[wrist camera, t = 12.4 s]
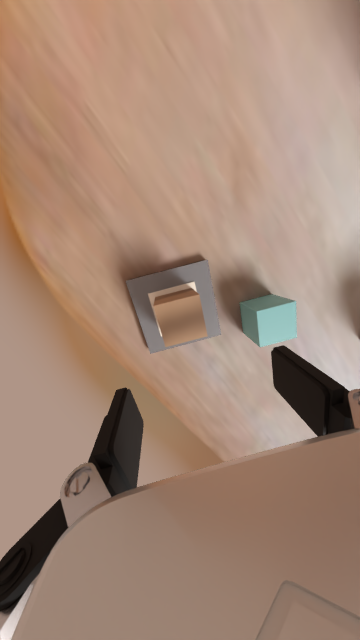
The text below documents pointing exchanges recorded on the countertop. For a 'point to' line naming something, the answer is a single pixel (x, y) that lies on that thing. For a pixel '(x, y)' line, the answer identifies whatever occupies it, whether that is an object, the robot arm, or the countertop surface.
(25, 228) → the countertop surface
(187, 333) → the walnut block
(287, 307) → the teal block
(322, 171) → the countertop surface
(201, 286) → the grey square plate
